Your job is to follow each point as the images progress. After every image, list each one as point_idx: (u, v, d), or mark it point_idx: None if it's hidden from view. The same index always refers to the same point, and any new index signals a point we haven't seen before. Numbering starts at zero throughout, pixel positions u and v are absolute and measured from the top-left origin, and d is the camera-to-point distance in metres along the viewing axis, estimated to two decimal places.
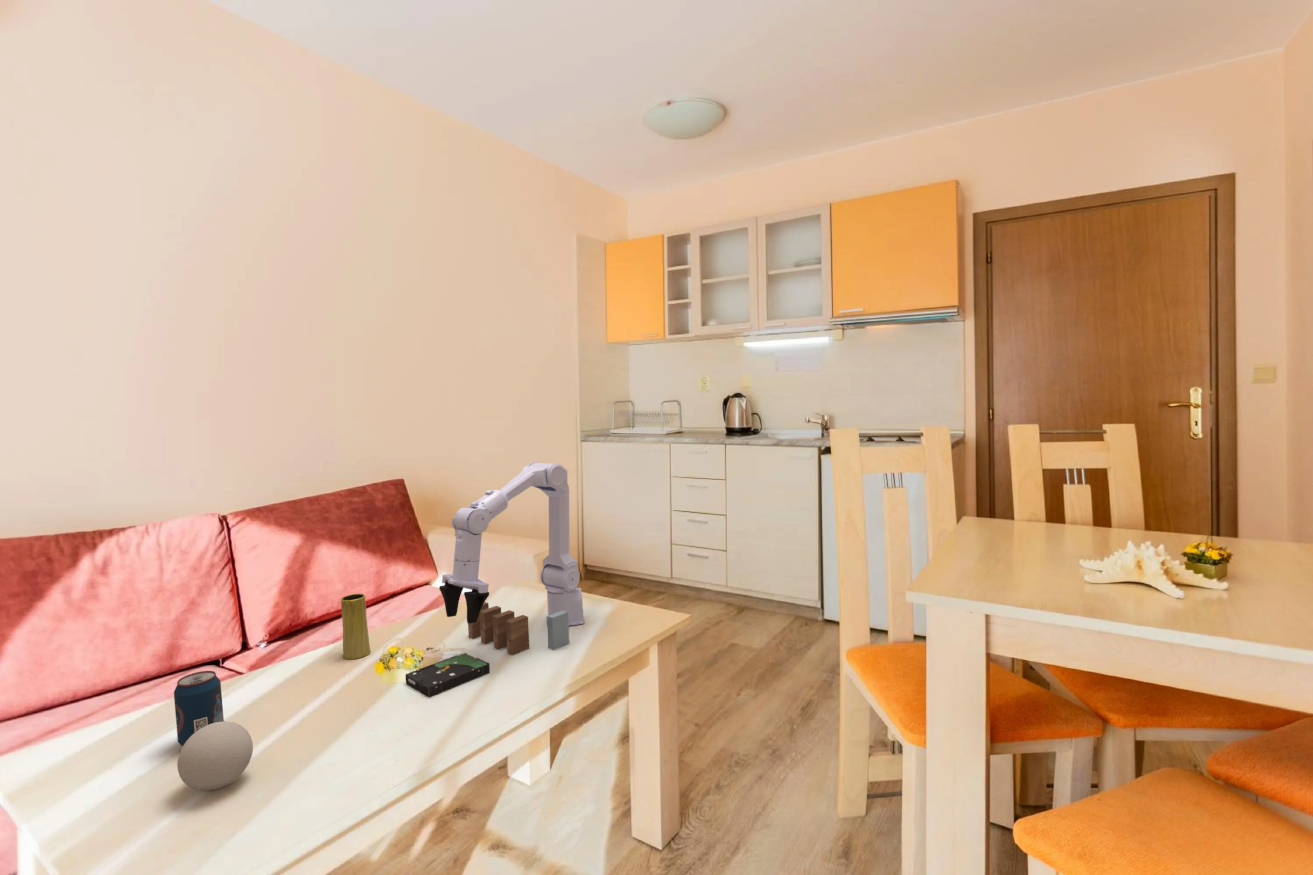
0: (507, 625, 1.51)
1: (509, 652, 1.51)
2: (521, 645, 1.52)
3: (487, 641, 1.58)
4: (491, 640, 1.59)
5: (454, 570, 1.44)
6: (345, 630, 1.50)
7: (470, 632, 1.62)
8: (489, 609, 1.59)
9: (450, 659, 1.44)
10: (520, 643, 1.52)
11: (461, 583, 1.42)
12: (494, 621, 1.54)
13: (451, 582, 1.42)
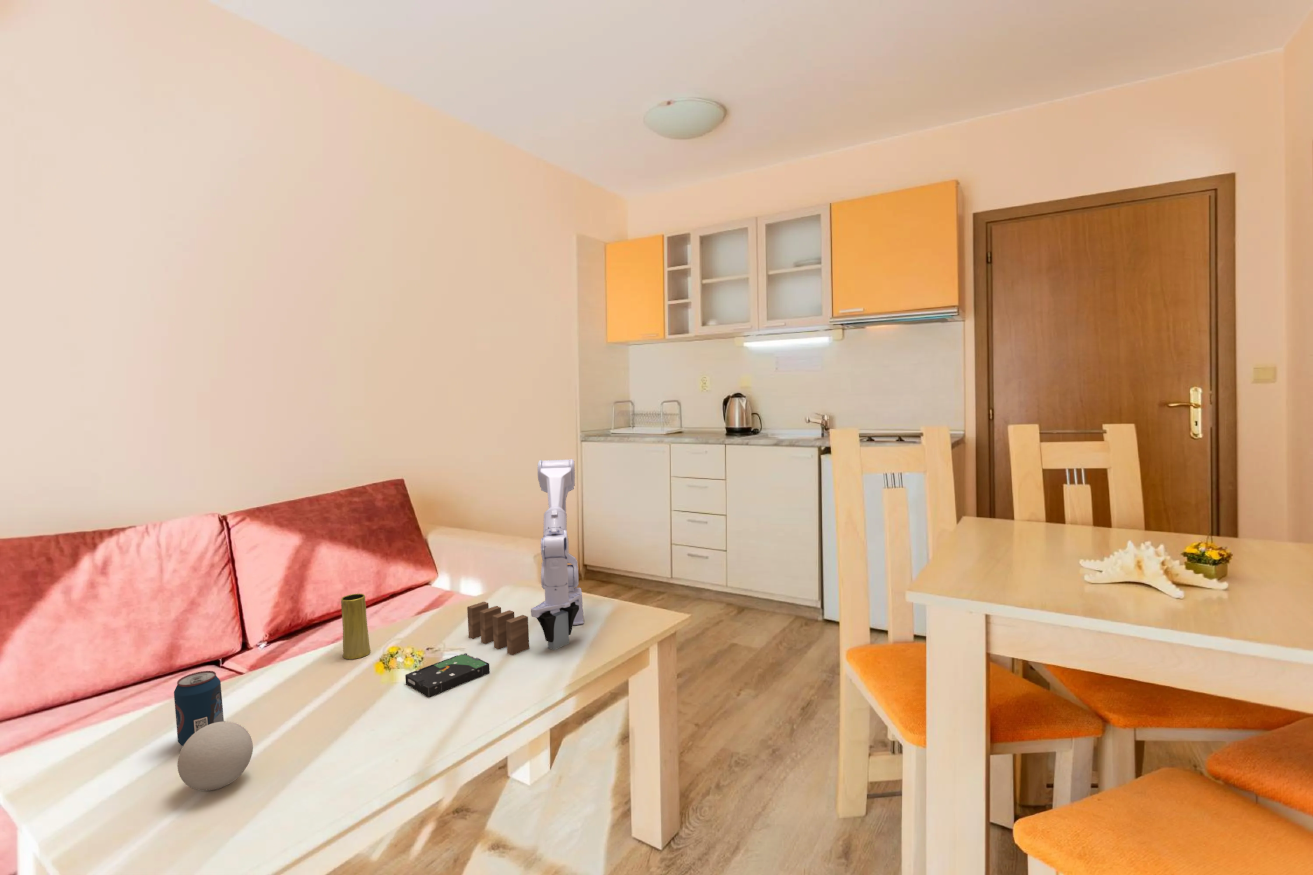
0: (507, 625, 1.51)
1: (509, 652, 1.51)
2: (521, 645, 1.52)
3: (487, 641, 1.58)
4: (491, 640, 1.59)
5: (562, 595, 1.52)
6: (345, 630, 1.50)
7: (470, 632, 1.62)
8: (489, 609, 1.59)
9: (450, 659, 1.44)
10: (520, 643, 1.52)
11: (570, 602, 1.54)
12: (494, 621, 1.54)
13: (569, 605, 1.52)
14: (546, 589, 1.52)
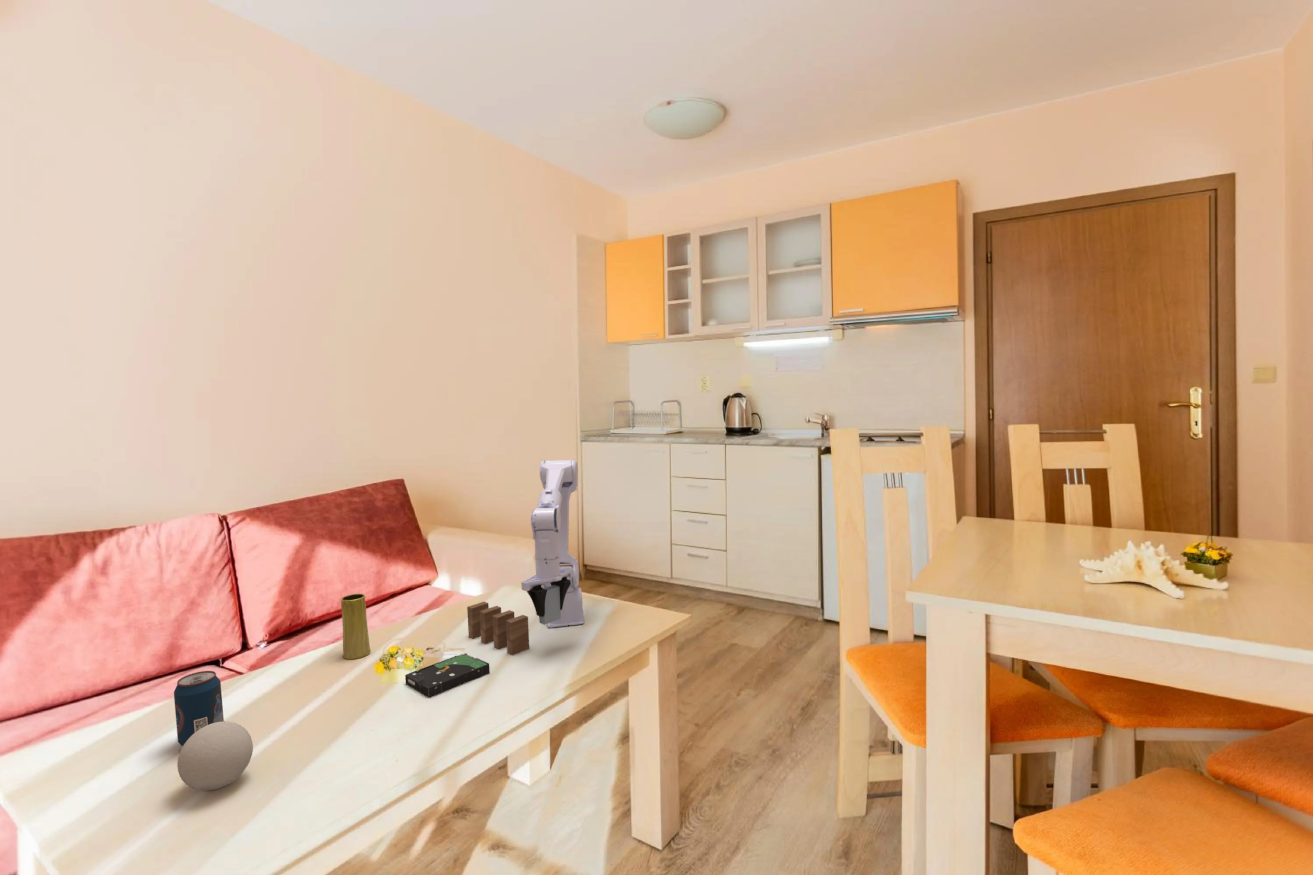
0: (507, 625, 1.51)
1: (509, 652, 1.51)
2: (521, 645, 1.52)
3: (487, 641, 1.58)
4: (491, 640, 1.59)
5: (553, 568, 1.49)
6: (345, 630, 1.50)
7: (470, 632, 1.62)
8: (489, 609, 1.59)
9: (450, 659, 1.44)
10: (520, 643, 1.52)
11: (561, 576, 1.52)
12: (494, 621, 1.54)
13: (560, 578, 1.50)
14: (537, 563, 1.50)
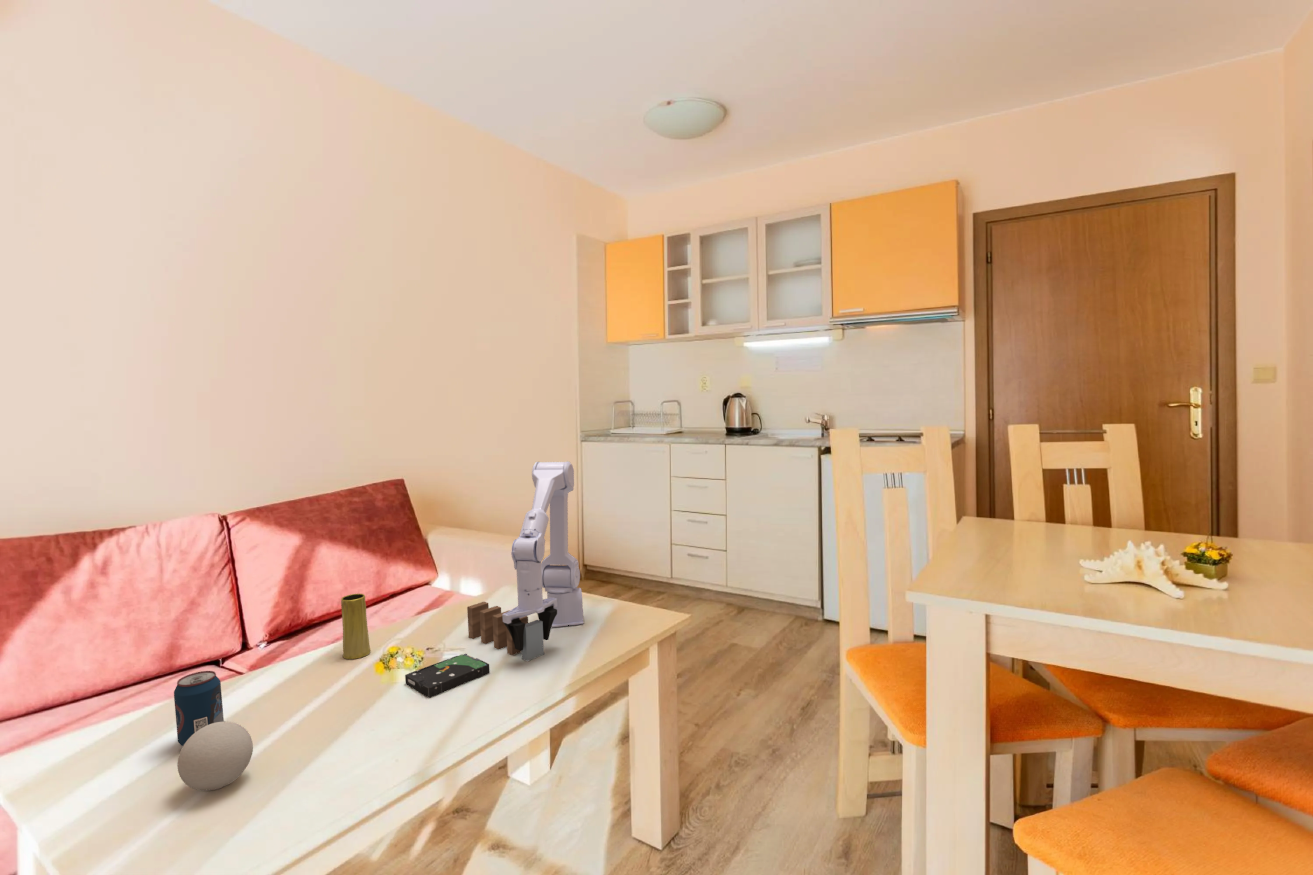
0: None
1: (509, 652, 1.51)
2: None
3: (487, 641, 1.58)
4: (491, 640, 1.59)
5: (535, 600, 1.46)
6: (345, 630, 1.50)
7: (470, 632, 1.62)
8: (489, 609, 1.59)
9: (450, 659, 1.44)
10: None
11: (544, 607, 1.48)
12: (494, 621, 1.54)
13: (543, 610, 1.46)
14: (519, 594, 1.46)
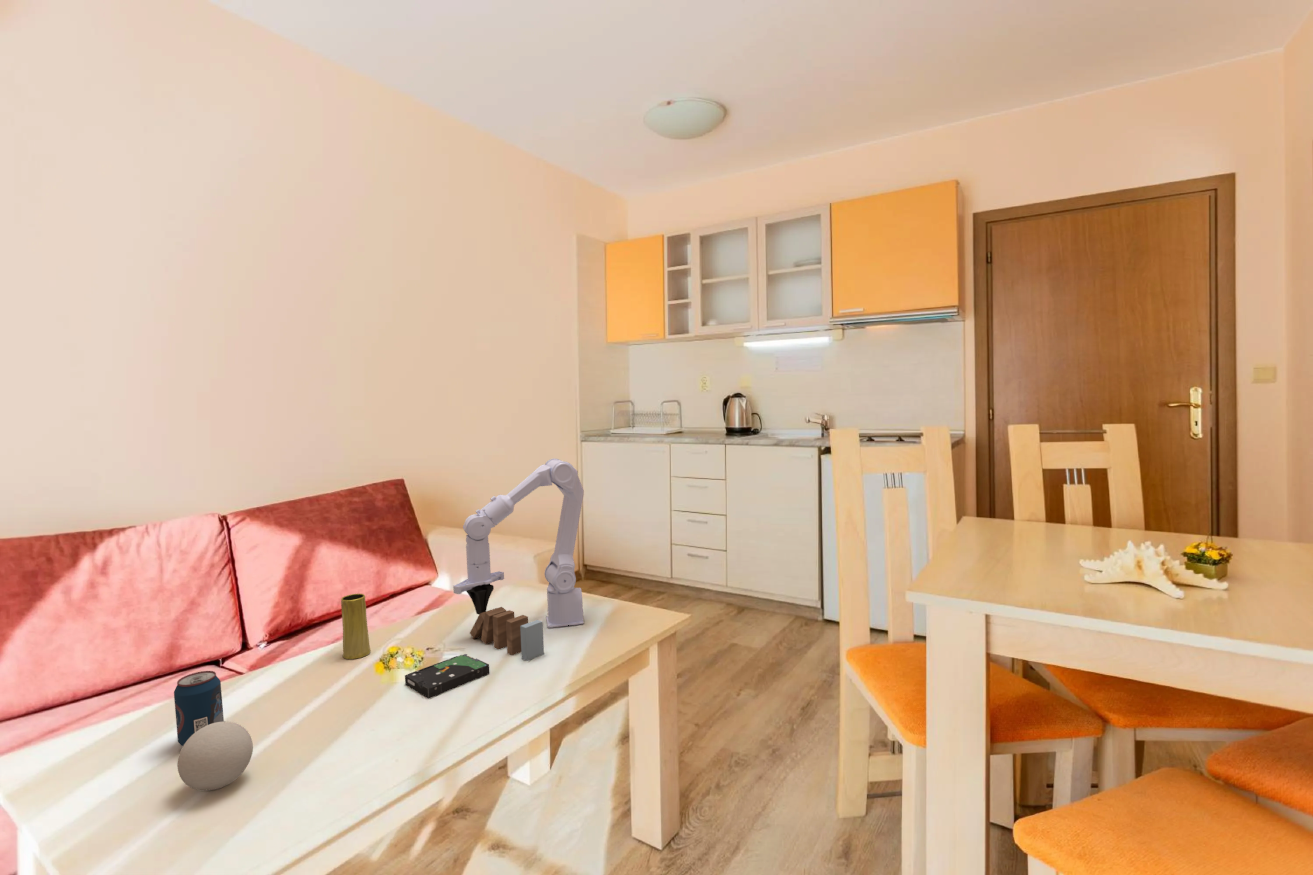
0: (507, 625, 1.51)
1: (509, 652, 1.51)
2: None
3: (487, 641, 1.58)
4: (491, 640, 1.58)
5: (484, 572, 1.59)
6: (345, 630, 1.50)
7: (472, 631, 1.61)
8: (494, 611, 1.58)
9: (450, 660, 1.43)
10: (520, 643, 1.52)
11: (492, 579, 1.62)
12: (494, 621, 1.54)
13: (491, 581, 1.60)
14: (468, 567, 1.59)
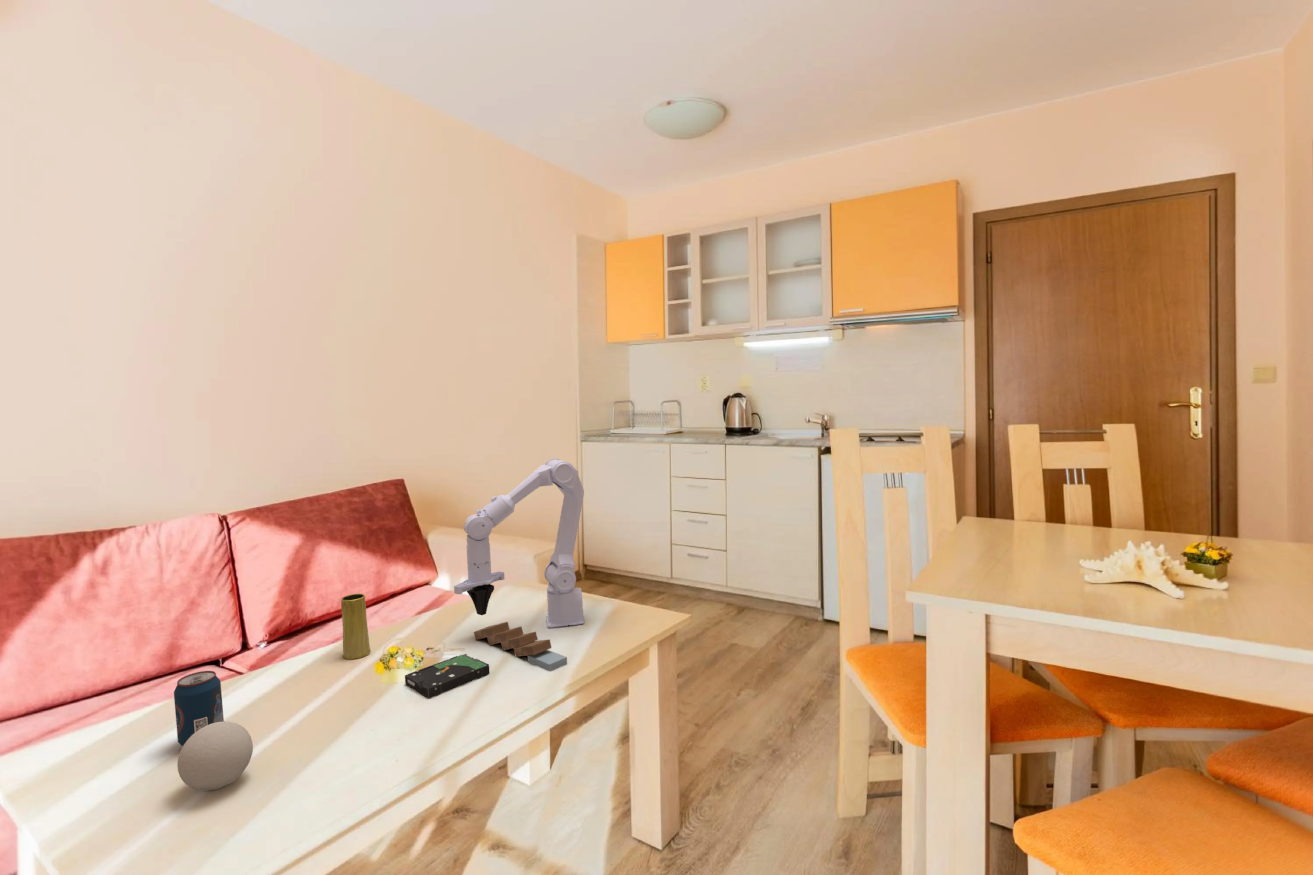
0: (529, 648, 1.45)
1: (515, 651, 1.49)
2: None
3: None
4: None
5: (484, 572, 1.59)
6: (345, 630, 1.50)
7: (477, 634, 1.59)
8: (513, 633, 1.54)
9: (450, 660, 1.43)
10: None
11: (492, 579, 1.62)
12: (516, 641, 1.49)
13: (491, 581, 1.59)
14: (469, 567, 1.59)
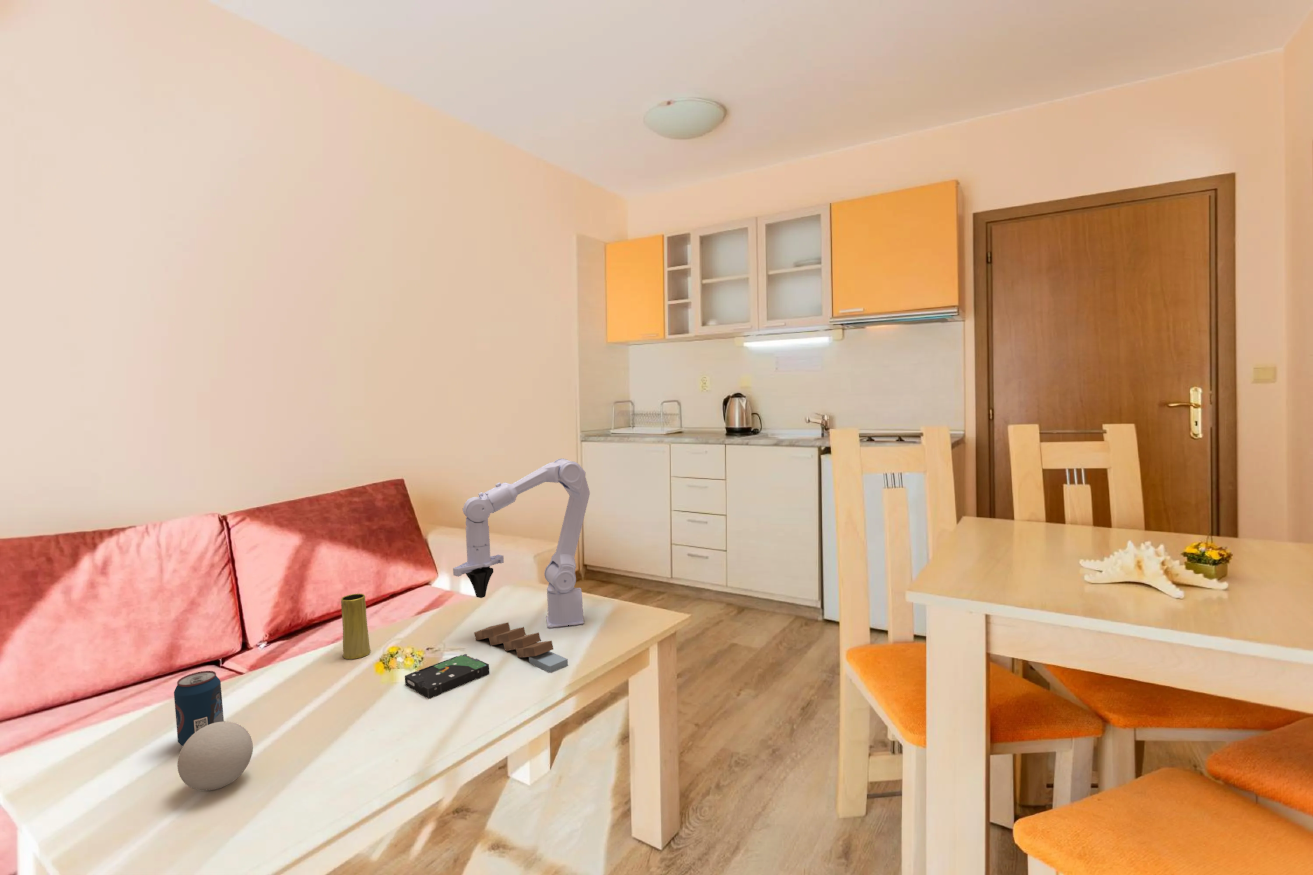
0: (531, 649, 1.44)
1: (517, 652, 1.49)
2: None
3: (493, 644, 1.56)
4: None
5: (483, 555, 1.59)
6: (345, 630, 1.50)
7: (477, 634, 1.59)
8: (515, 634, 1.53)
9: (449, 660, 1.43)
10: None
11: (492, 562, 1.61)
12: (519, 642, 1.49)
13: (490, 564, 1.59)
14: (468, 550, 1.59)
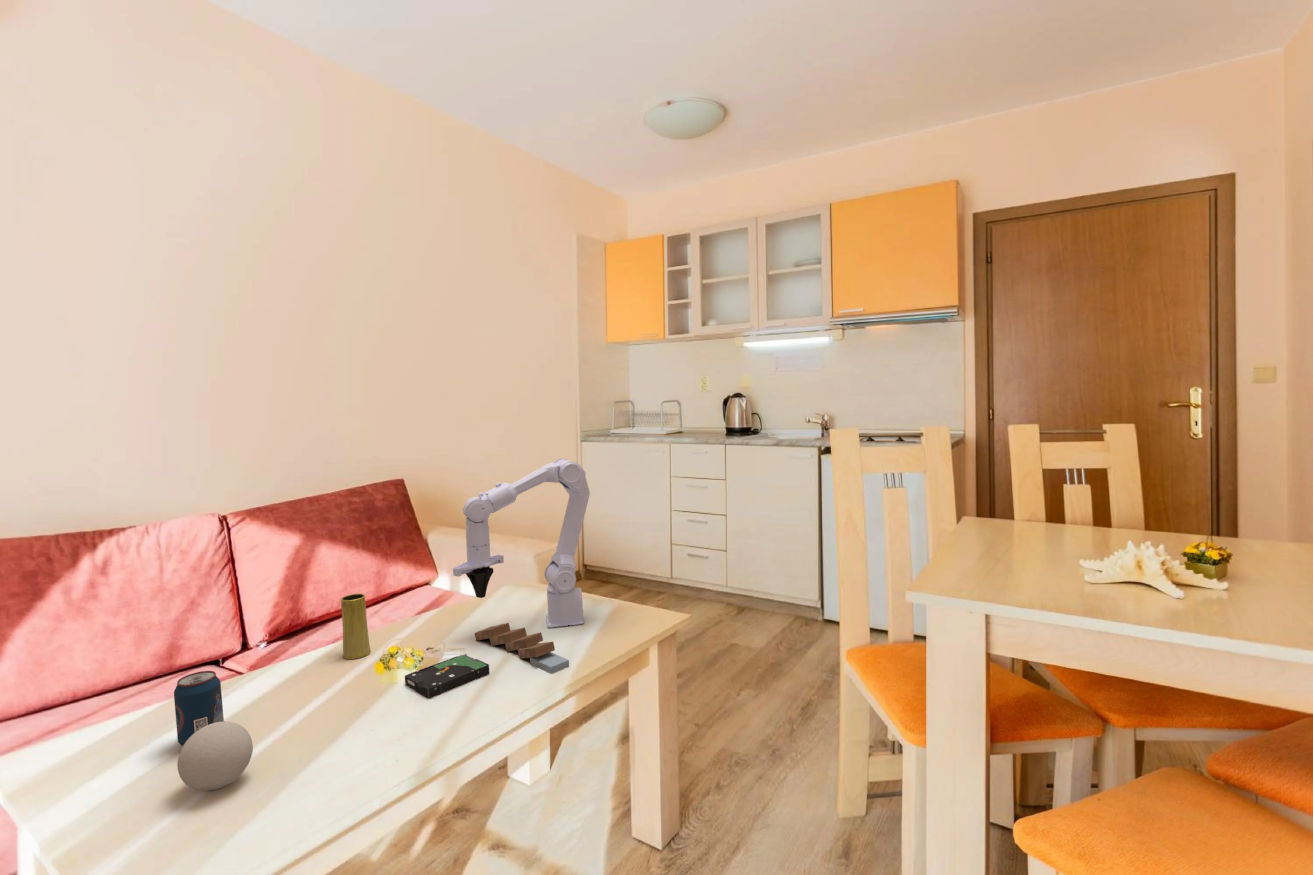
0: (532, 650, 1.43)
1: (519, 653, 1.48)
2: None
3: (494, 644, 1.56)
4: None
5: (483, 555, 1.59)
6: (345, 630, 1.50)
7: (478, 635, 1.59)
8: (517, 634, 1.53)
9: (449, 660, 1.43)
10: None
11: (492, 562, 1.61)
12: (522, 642, 1.48)
13: (490, 564, 1.59)
14: (468, 550, 1.59)
